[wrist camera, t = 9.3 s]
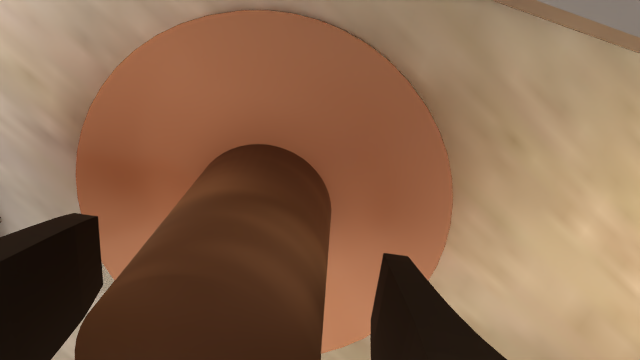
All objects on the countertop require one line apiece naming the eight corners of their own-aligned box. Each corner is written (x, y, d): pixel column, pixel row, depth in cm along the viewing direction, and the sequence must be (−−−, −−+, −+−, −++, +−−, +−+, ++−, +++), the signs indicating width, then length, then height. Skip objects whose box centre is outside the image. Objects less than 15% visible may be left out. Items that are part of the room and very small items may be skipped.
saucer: (513, 87, 14) (522, 92, 13) (371, 378, 18) (372, 394, 17) (117, -50, 13) (103, -53, 12) (70, 289, 17) (57, 302, 17)
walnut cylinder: (339, 153, 14) (333, 292, 7) (322, 276, 16) (305, 477, 9) (195, 135, 14) (63, 257, 7) (193, 259, 16) (84, 448, 9)
